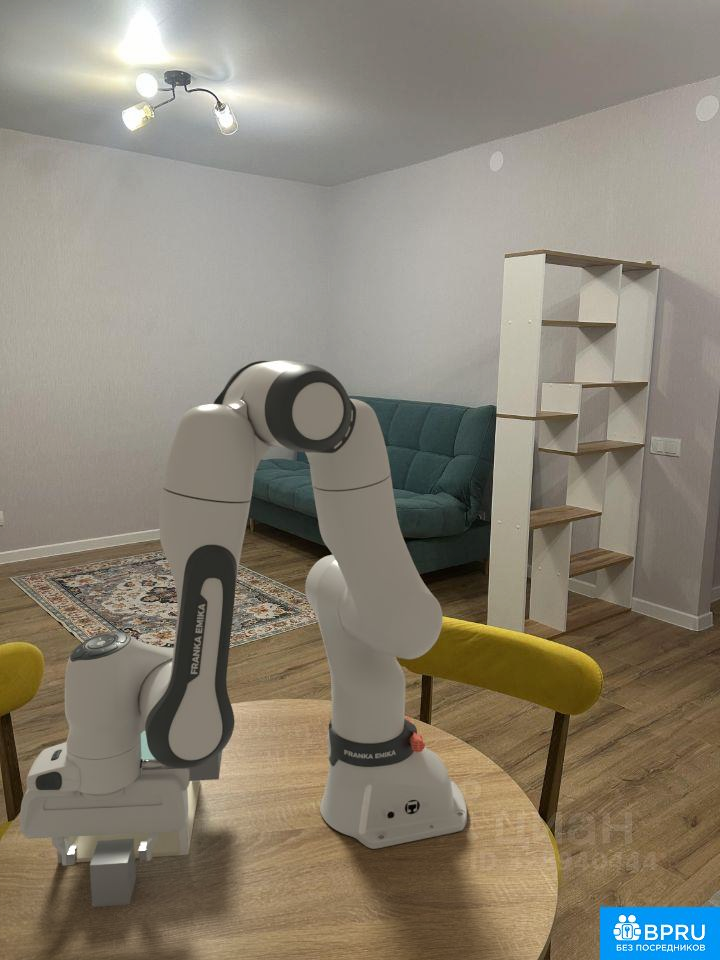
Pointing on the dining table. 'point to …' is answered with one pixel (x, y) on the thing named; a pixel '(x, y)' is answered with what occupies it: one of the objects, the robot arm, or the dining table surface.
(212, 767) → the trapdoor
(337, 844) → the dining table surface
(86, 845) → the frame
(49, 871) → the dining table surface
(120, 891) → the grey block
